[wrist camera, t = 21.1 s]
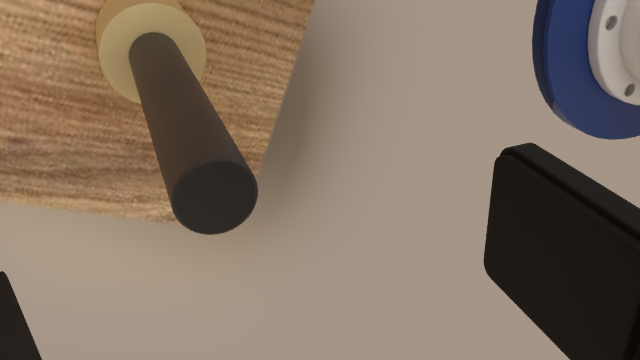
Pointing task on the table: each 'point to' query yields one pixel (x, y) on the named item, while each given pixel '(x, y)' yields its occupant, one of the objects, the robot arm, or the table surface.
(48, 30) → the table surface
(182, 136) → the brush
